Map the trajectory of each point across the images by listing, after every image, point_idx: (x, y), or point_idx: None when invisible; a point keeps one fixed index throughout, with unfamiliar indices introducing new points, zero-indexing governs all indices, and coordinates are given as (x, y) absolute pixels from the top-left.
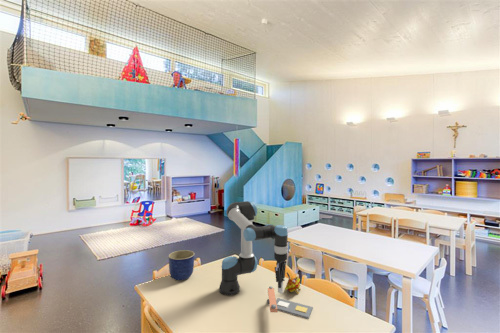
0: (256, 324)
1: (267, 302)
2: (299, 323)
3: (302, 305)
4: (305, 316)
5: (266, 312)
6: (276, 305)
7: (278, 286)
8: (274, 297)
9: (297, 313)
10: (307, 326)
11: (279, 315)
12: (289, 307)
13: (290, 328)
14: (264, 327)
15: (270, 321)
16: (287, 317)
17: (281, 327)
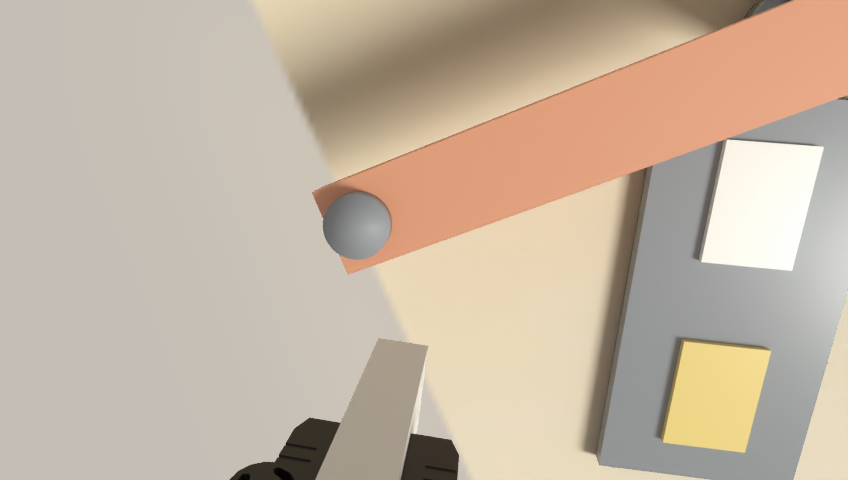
0: (330, 32)
1: (759, 4)
2: (502, 393)
3: (793, 397)
4: (602, 439)
5: (561, 59)
6: (418, 245)
7: (287, 446)
8: (614, 163)
9: (625, 370)
10: (486, 454)
11: (556, 205)
12: (712, 280)
13: (406, 336)
14: (322, 122)
15: None
16: (551, 283)
17: (387, 264)
